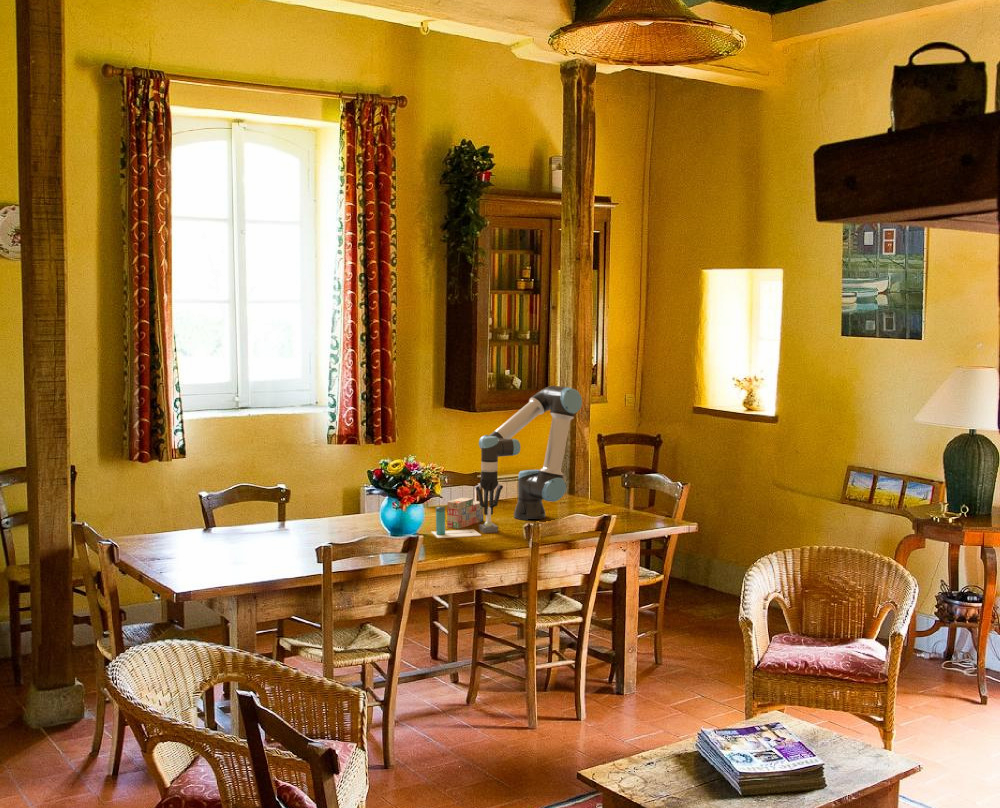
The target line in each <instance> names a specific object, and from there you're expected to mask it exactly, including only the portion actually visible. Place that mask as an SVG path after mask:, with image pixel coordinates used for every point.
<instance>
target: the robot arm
mask: <svg viewBox="0 0 1000 808" xmlns="http://www.w3.org/2000/svg"><path fill="white" fill-rule="evenodd" d="M582 406H583V399H582V394H580V392H579V391H578V390H577V389H575V388H572V387H568V386H558V385H549V386H547V387H544V388H543V389H540V390H539V391H538V392H536V393H535V394H534V395H532V396H531V397H530V398H529V399H528V403H526V404H525V405H524V406H523V407H521V408H520V409H519V410H518V411H516V412H515V413H514V414H513V415H511V417H509V418H508V419H507V420H505V422H504V423H502V424H501V425H499V427H497V428H496V429H495V430H494V431H493V432H491V433H490V434H485V435H482V436H481V437H480V438H479V441H478V446H479V448H480V454H481V455H480V456H481V457H480V458H481V459H480V461H481V462H480V463H481V464H480V469H481V471H480V481H479V483H478V485H475V486H474V488H475V490H476V493H477V497H478V501H479V502H480V506H482V507H483V515H485V522H488V523H489V522H492V515H493V514H494V508H495V507H498V504H499V499H500V496H501V495H500V494H501V491H502V490H503V488H504V486H503V485H502V484H501V483H499V481H498V469H499V467H498V465H499V463H498V462H499V458H500V457H509V456H510V457H512V456H517V455H519V454H520V452H521V443H520V441H519V439H516V438H513V437H514V436H515V435H516V434H517V433H519V432H520V431H522V430H523V428H525V427H526V426H527V425H528V424H529V423H530V422H532V421H533V420H534V419H535V418H536V417H538V416H539V415H543V414H544V413H546V412H548V411H549V414H550V415H551V417H552V418H551V423H550V424H551V425H550V429H549V433H548V434H549V435H548V439H547V445H546V450H545V455H544V461H543V466H542V467H541V468H540V469H526V470H525V469H524V470H520V471H519V472H518V478H517V503H516V505H515V509H514V512H513V517H514V519H518V520H522V521H529V520H528V519H540V520H544V519H545V518H546V510H545V507H544V504H543V501H546V502H551V503H552V502H557V501H559V500H560V499H562V498H563V496H565V493H566V490H567V484H566V481H565V480H564V473H563V472H562V467H563V461H564V456H565V451H566V447H567V441H568V440H567V439H568V436H569V434H568V433H569V430H570V429H569V428H570V426H571V425H570V423H571V421H572V420H574V418H575V417H576V416H575V415H576V413H578V412H579V410H581V409H582V408H581V407H582ZM482 489H483V494H482V491H481V490H482ZM495 490H496V491H495ZM494 494H495V496H494ZM543 518H544V519H543Z"/></svg>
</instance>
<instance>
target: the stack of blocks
mask: <svg viewBox="0 0 1000 808" xmlns="http://www.w3.org/2000/svg"><path fill="white" fill-rule="evenodd" d="M446 515H447V517H446V520H447V522H446V528H451V529H455V530H456V529H457V530H460V529H462V528H466V527H468V526H471V525H475V524H478V523H481V522H483V521H484V507H482V506H480V502H479V500H474V498H471V497H463V496H462V497H459V498H456V499H451V500H448V501H447V509H446Z"/></svg>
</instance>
